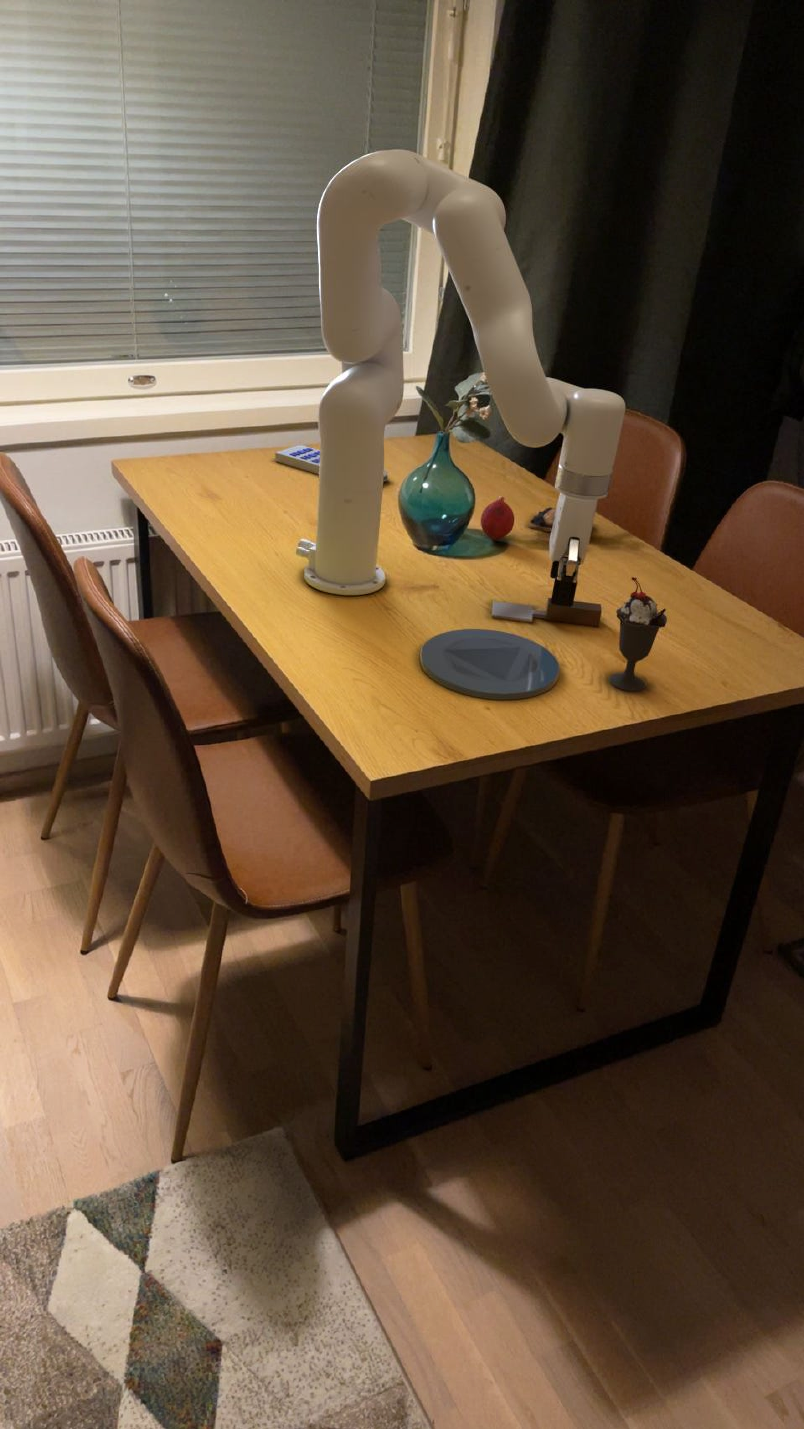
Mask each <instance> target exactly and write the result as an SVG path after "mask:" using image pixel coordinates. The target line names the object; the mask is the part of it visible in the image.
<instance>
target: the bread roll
mask: <svg viewBox="0 0 804 1429" xmlns="http://www.w3.org/2000/svg"><path fill="white" fill-rule="evenodd" d="M556 508H557V507H551V506H549V507H547V508H545V509H544V510H542V511H539V512H538V514H537V515H534V516H533V517H532V519H531V520H530V523H529V525H528V526H529V528H531V529H536V530H538V531H545V532H551V531H552V527H553V522H554V518H555V513H556Z"/></svg>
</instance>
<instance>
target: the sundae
mask: <svg viewBox="0 0 804 1429" xmlns="http://www.w3.org/2000/svg"><path fill="white" fill-rule="evenodd" d="M631 581H633V582H634V583H635V585H636V589H635V590H634V591H632V592H631V593H630V596H629V597H630V598H629V599H628V600H626V601H625V602H624V603H623V605H621V607H620V608H618V609H617V610H616V611H615V613H616V618H617V619H618V620H619V637H618V648H619V649H618V650H619V652H620V654H621V656H623V658H625V660H626V666H625V668H624V671H623V672H618V673H613V674H612V675H610V676H609V677H608V678H609V679H608V680H609V683H610V685H611V686H613V687H614V688H617V689H619V690H621V691H625V692H640V691H642V690H644V689H645V688H646V682H645V681H644V680H643V679H642V678H641V677H639V676H637V675H635V668H636V664H637V663H638V662H640V661H642V660H644V659H645V658H646V657H648V656H649V654H650V652H651V650H652V648H653V645H654V644H655V643H654V642H655V640H656V637H657V635H658V632H659V630H660V629H661V628H665V627H666V625H667V622H668V618H667V616H666V614H665V612H666V610H667V609H666V608H663V609H662V610H660V611H659V610H658V604H657V603H656V601H655V600H654V598H652V597H651V596H649V595H647V594H646V592H644V591H642V587H641V585H640V582H639V581H638V578H637V577H634V576H631ZM638 590H639V592H638Z"/></svg>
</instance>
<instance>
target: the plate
mask: <svg viewBox="0 0 804 1429" xmlns="http://www.w3.org/2000/svg"><path fill="white" fill-rule="evenodd" d="M419 662H420V663H419V664H420V666H421V669H422V671H423V672H424V673H425V674H426V675H427V676H428V677H429V678H430V679H432V680H433V681H434V682H435V683H437V684H439V685H440V686H443V687H444V688H447V689H448V690H451V691H454V692H455V693H459V694H462V695H466V696H470V697H474V698H479V699H480V698H481V699H487V700H495V701H496V700H497V701H512V700H522V699H529V698H533V697H536V696H539V695H542V694H544V693H546V692H547V691H549V690H551V689H552V688H553V687H554V686H555V685H556V684H557V682H558V680H559V675H560V664H559V662H558V659H557V658H556V656H555V655H554V654H553V653H552V651H550V650H548V649H547V648H545V647H544V646H542V645H541V644H539V643H537V642H536V641H533V640H531V639H529V638H527V637H524V636H522V635H517V634H514V633H511V632H506V631H501V630H495V629H486V628H463V629H461V628H460V629H454V630H449V631H445V632H442V633H441V632H440V633H438V634H437V635H434V636H432V637H431V638H429V639H428V640H427V641H426V642H425V643H424V644H423V645H422V647H421V649H420V654H419Z"/></svg>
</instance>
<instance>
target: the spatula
mask: <svg viewBox="0 0 804 1429" xmlns="http://www.w3.org/2000/svg"><path fill="white" fill-rule="evenodd" d="M602 610H603V609H602V604H601V603H595V602H587V601H577V600H574V602H573V606H571V607H567V606H560V605H554V604H551V597H547V600H546V606H545V610H537V609H533V605H530V604H529V605H528V604H519V603H513V602H506V601H505V602H503V601H496V600H493V601H492V610H491V618H494V619H495V618H496V619H502V620H503V619H504V620H509V621H519V622H527V623H533V618H538V619H545V621H549V622H556V623H557V622H558V623H565V624H573V625H582V626H590V627H597V628H598V627H600V623H601V617H602V612H603V611H602Z"/></svg>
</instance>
